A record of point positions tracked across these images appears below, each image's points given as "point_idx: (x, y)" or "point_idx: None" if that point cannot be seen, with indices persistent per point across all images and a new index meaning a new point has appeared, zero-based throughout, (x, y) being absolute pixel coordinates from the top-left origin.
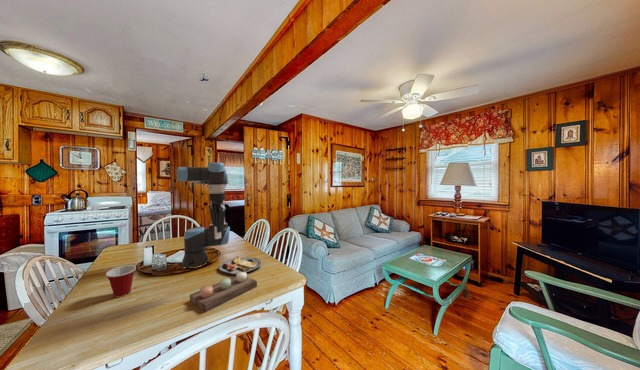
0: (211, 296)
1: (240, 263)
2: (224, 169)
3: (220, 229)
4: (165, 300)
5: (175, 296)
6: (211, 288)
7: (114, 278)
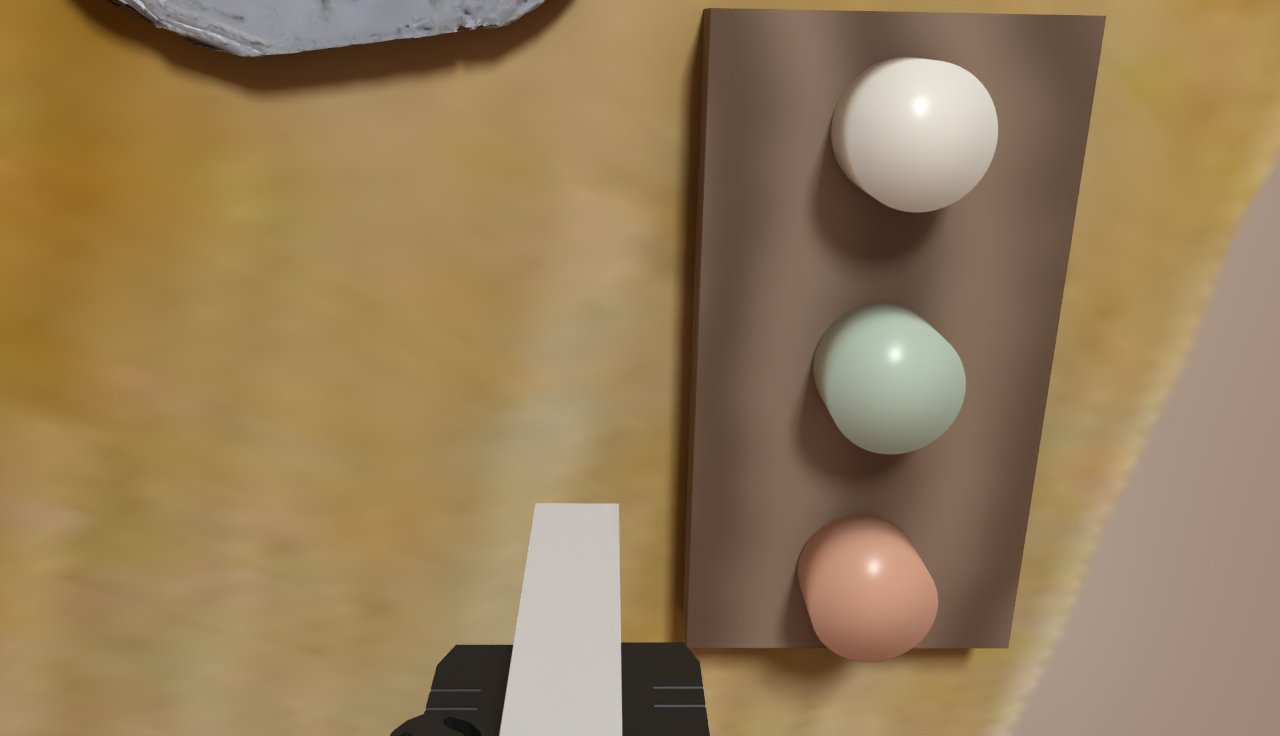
0: (915, 548)
1: None
2: None
3: (703, 725)
4: None
5: None
6: (921, 577)
7: None
